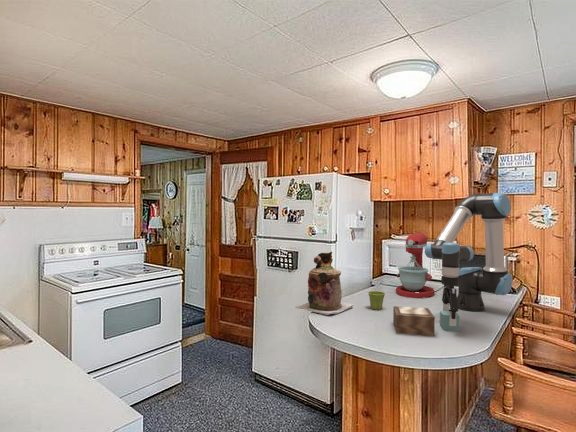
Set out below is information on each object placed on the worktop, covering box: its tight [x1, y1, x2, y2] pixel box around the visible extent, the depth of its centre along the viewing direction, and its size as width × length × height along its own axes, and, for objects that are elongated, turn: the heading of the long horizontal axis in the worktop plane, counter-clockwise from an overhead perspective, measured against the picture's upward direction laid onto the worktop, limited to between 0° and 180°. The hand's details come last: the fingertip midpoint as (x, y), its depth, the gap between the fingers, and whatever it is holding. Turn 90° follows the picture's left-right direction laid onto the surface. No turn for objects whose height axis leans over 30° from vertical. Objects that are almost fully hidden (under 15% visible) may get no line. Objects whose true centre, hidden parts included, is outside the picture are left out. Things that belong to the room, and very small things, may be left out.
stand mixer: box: [395, 232, 435, 299], centre depth 247 cm, size 24×32×40 cm
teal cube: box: [439, 310, 460, 332], centre depth 173 cm, size 7×7×7 cm
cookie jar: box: [295, 250, 354, 316], centre depth 206 cm, size 25×25×32 cm
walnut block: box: [392, 305, 436, 337], centre depth 171 cm, size 16×16×8 cm
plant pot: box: [367, 290, 386, 311], centre depth 207 cm, size 9×9×9 cm
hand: (449, 321), depth 173 cm, fingers open, 13 cm apart
